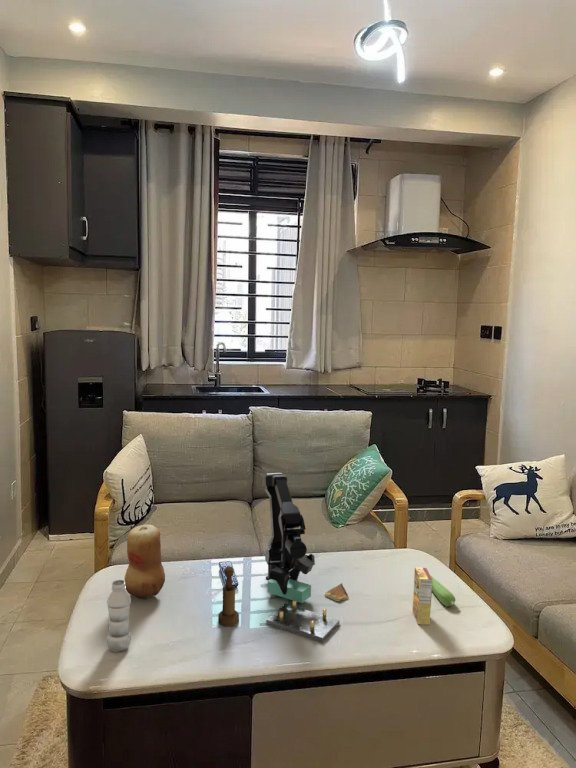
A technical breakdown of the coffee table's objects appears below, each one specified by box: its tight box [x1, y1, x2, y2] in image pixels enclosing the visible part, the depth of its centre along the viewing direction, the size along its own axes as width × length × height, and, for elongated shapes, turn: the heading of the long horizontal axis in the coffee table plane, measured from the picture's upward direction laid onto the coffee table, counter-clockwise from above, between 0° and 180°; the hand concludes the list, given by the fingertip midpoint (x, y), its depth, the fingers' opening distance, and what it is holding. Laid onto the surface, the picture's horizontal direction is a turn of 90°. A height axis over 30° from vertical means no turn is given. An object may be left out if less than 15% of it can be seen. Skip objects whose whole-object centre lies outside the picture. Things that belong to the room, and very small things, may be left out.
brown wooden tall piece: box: [217, 566, 240, 627], centre depth 180 cm, size 7×6×18 cm
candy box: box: [412, 567, 433, 626], centre depth 185 cm, size 9×4×15 cm, turn 0°
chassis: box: [265, 600, 340, 643], centre depth 180 cm, size 20×12×4 cm, turn 60°
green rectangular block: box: [266, 579, 312, 604], centre depth 196 cm, size 14×6×4 cm, turn 58°
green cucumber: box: [430, 575, 456, 607], centre depth 201 cm, size 5×20×5 cm
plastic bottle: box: [106, 579, 132, 653], centre depth 164 cm, size 6×7×20 cm
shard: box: [324, 583, 349, 602], centre depth 201 cm, size 11×8×2 cm
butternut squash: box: [124, 524, 166, 600], centre depth 195 cm, size 14×13×25 cm
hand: (289, 590), depth 196 cm, fingers closed on green rectangular block, 6 cm apart
